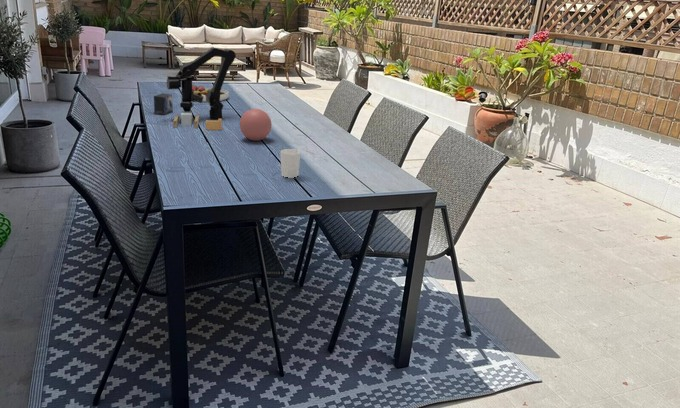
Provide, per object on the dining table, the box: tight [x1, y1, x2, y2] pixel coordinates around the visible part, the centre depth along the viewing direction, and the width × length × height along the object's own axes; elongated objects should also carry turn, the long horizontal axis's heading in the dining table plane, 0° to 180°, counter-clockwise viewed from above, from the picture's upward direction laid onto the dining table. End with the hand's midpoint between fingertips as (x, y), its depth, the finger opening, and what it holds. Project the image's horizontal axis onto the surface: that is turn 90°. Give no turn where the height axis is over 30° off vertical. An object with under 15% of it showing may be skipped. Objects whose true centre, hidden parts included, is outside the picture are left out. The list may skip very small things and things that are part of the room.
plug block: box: [180, 110, 193, 127], centre depth 289 cm, size 5×8×6 cm, turn 10°
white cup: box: [280, 148, 302, 179], centre depth 214 cm, size 8×8×10 cm
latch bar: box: [205, 118, 223, 131], centre depth 280 cm, size 8×2×6 cm, turn 100°
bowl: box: [192, 84, 230, 103], centre depth 360 cm, size 30×30×8 cm
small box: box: [153, 93, 174, 116], centre depth 310 cm, size 11×6×10 cm, turn 168°
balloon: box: [239, 108, 272, 142], centre depth 265 cm, size 15×20×15 cm
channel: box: [172, 114, 200, 129], centre depth 288 cm, size 12×16×4 cm
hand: (188, 117), depth 298 cm, fingers closed
